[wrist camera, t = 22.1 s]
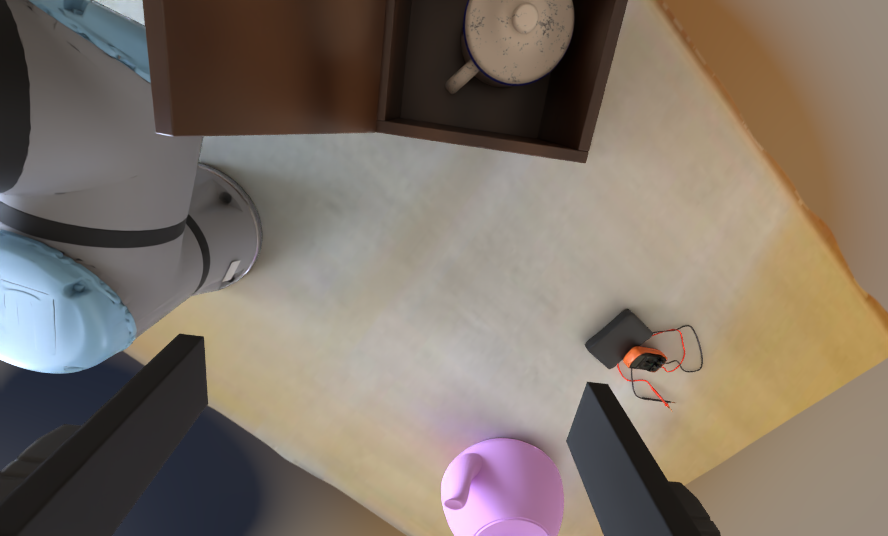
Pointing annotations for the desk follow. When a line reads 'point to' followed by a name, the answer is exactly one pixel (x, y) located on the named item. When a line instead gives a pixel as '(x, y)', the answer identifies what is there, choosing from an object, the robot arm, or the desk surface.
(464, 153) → the desk surface
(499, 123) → the chest
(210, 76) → the chest lid
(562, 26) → the teacup with lid
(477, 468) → the teapot
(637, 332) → the multimeter
